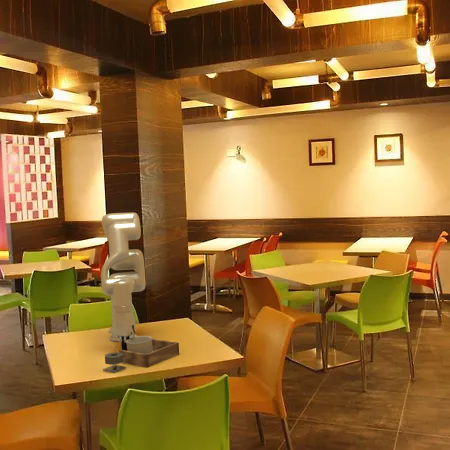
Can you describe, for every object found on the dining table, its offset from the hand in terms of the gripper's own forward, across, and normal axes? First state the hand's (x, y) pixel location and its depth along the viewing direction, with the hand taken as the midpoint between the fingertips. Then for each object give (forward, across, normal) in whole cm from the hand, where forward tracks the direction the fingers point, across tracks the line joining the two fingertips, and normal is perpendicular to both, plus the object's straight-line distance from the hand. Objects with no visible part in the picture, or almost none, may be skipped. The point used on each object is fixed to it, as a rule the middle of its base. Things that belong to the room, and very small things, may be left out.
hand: (125, 350), depth 255 cm
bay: (+2, +13, 0) cm, 13 cm away
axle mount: (+2, +11, -18) cm, 21 cm away
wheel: (-2, +11, -18) cm, 21 cm away
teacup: (+2, +8, 0) cm, 8 cm away
